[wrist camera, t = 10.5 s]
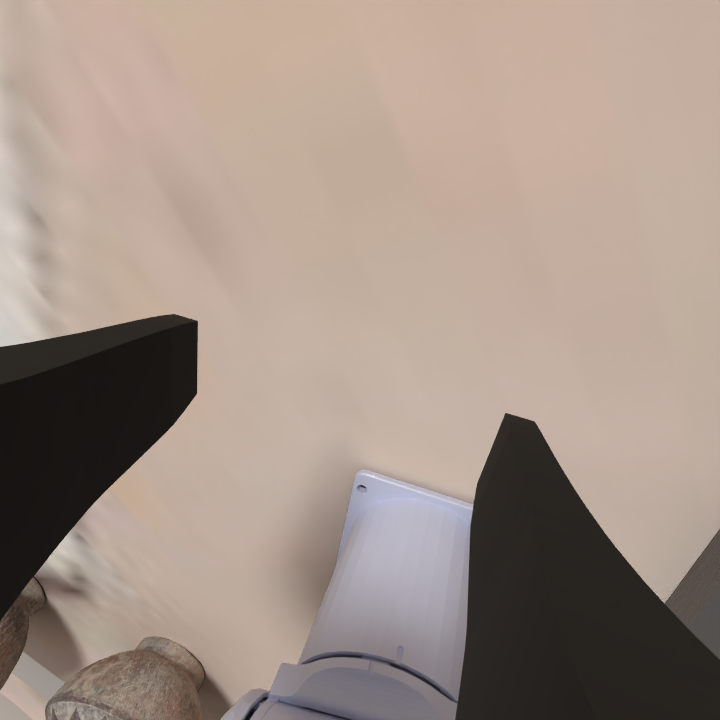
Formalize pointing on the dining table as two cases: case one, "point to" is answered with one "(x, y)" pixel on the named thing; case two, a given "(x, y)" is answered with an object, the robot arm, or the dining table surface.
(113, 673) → the pottery
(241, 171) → the dining table surface
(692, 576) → the grey square hole board
